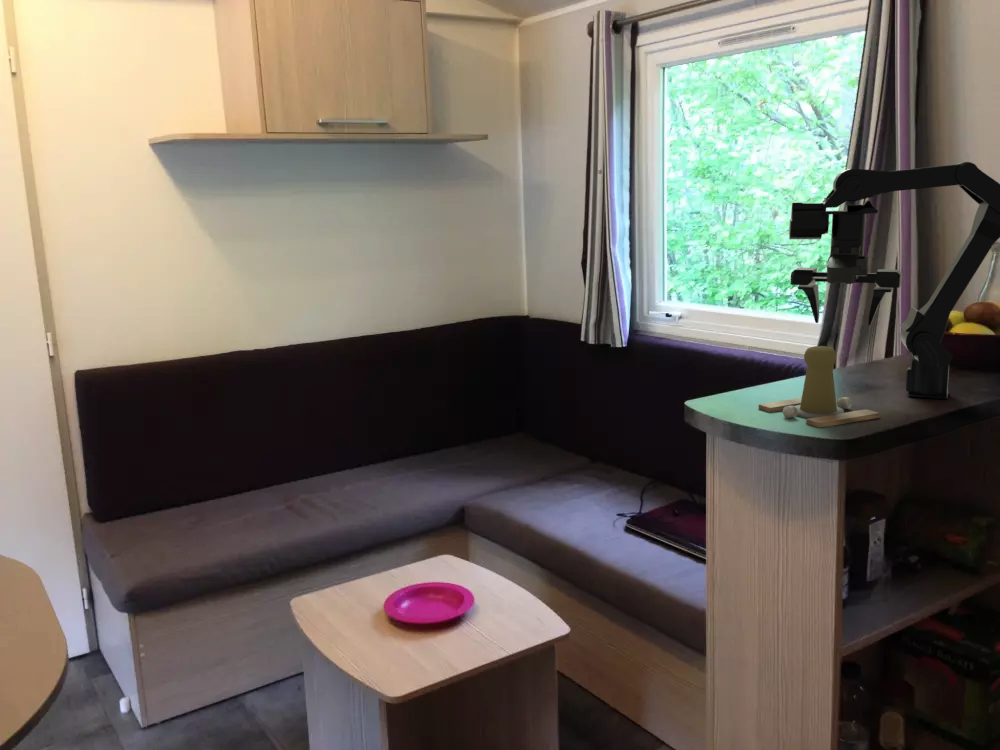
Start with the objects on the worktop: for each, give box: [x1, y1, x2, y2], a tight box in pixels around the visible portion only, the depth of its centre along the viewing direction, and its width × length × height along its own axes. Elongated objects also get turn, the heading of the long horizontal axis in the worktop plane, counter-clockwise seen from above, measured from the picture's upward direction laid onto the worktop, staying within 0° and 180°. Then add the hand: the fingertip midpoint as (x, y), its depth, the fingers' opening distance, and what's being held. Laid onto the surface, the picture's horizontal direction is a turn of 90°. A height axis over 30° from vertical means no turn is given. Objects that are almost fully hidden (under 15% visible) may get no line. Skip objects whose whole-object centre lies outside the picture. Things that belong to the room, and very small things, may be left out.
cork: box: [800, 345, 838, 414], centre depth 155 cm, size 6×6×11 cm
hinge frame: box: [758, 396, 880, 429], centre depth 156 cm, size 13×15×2 cm
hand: (842, 323), depth 168 cm, fingers open, 9 cm apart
